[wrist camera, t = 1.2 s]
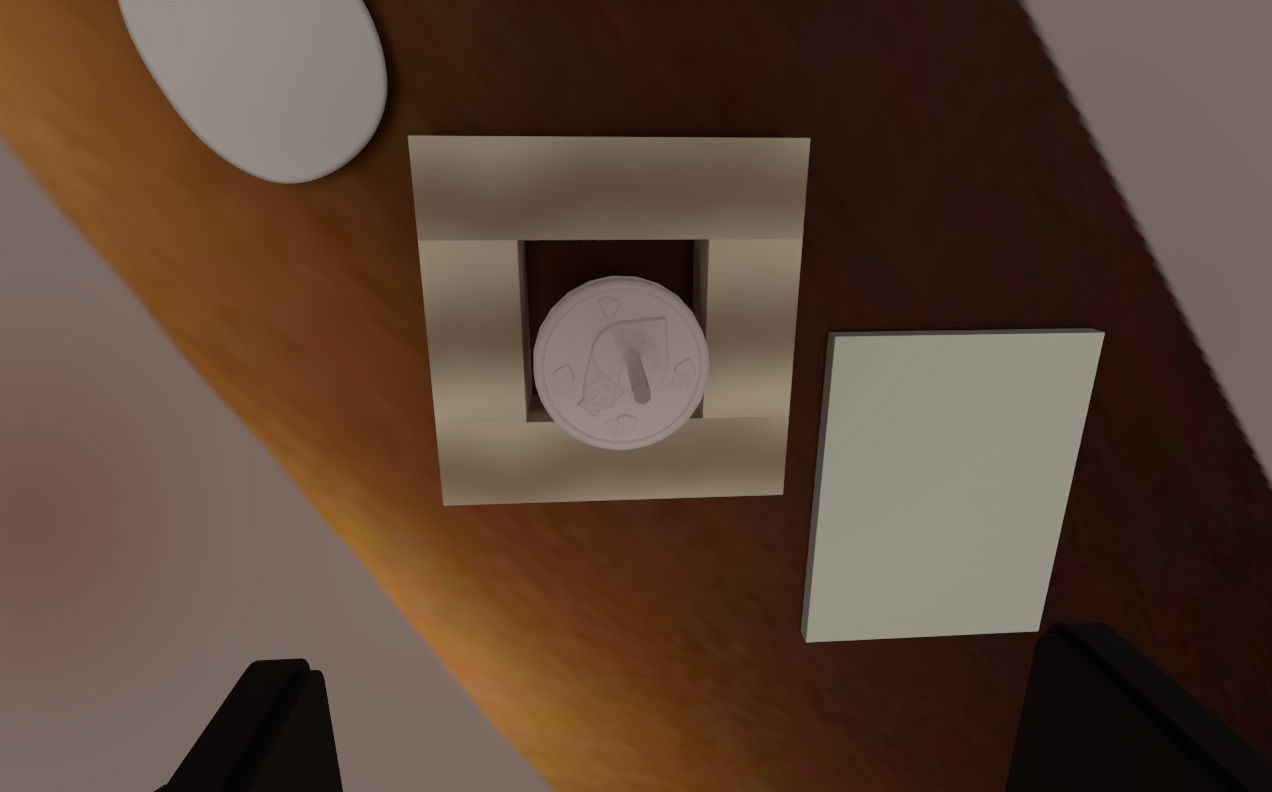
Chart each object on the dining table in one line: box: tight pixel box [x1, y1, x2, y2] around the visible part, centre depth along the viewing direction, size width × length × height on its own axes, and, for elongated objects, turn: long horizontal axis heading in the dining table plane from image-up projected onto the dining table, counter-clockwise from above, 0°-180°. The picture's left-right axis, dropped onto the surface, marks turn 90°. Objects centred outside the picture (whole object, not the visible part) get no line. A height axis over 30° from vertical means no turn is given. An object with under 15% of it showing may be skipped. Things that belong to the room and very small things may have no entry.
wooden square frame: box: [408, 136, 810, 506], centre depth 31 cm, size 16×16×4 cm
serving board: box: [801, 328, 1105, 642], centre depth 37 cm, size 18×14×1 cm
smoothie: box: [534, 276, 709, 450], centre depth 27 cm, size 6×6×14 cm
